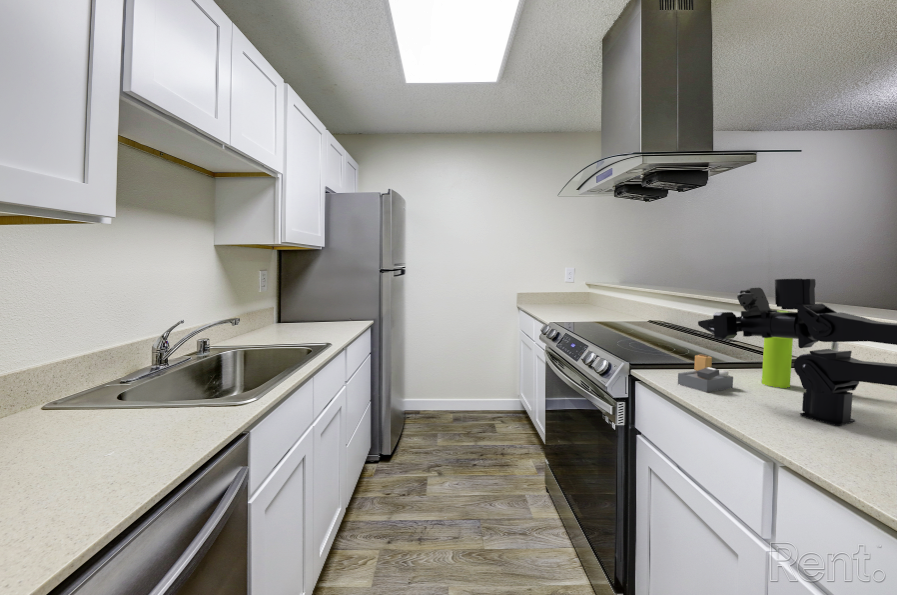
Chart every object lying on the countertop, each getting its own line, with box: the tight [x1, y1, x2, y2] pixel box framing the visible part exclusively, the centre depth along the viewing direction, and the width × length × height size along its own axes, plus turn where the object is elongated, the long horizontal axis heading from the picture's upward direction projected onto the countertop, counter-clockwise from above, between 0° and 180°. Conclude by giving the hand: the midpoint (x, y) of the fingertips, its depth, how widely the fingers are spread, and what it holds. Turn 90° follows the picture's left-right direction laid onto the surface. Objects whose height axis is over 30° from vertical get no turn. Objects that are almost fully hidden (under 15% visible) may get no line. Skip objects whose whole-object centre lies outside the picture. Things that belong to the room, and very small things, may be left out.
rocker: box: [697, 367, 720, 379], centre depth 104 cm, size 3×4×2 cm
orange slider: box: [693, 353, 713, 371], centre depth 110 cm, size 3×2×4 cm
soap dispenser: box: [761, 310, 794, 389], centre depth 107 cm, size 6×7×20 cm
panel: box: [677, 369, 734, 393], centre depth 107 cm, size 8×10×4 cm
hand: (710, 322), depth 106 cm, fingers open, 9 cm apart
